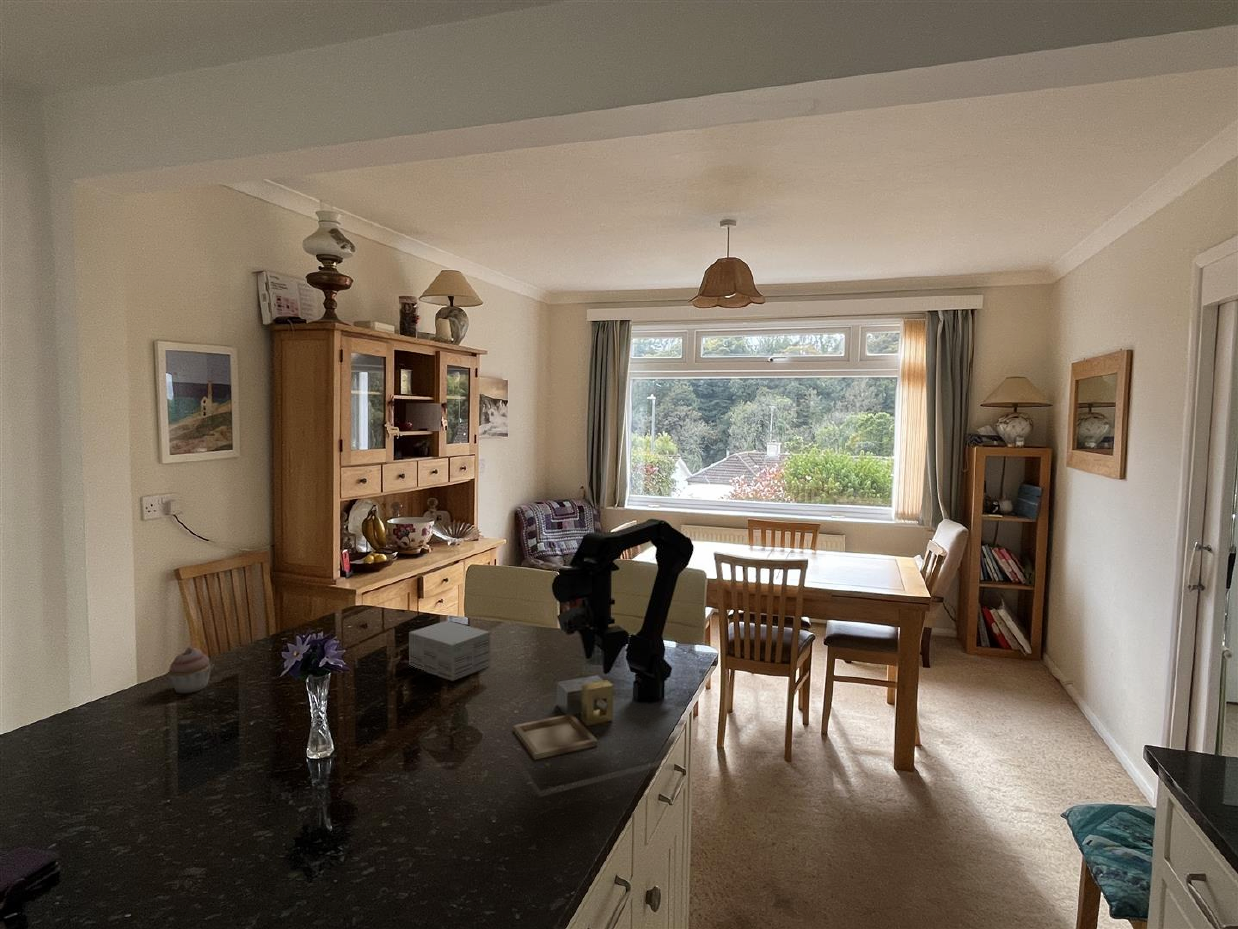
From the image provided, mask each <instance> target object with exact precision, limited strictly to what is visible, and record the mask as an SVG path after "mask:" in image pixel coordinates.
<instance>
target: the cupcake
mask: <svg viewBox="0 0 1238 929" xmlns="http://www.w3.org/2000/svg"><path fill="white" fill-rule="evenodd" d="M214 665H215V664H214V663H211V662H210V659H209V657H208V655H206V654H205V653H203V652H202V651H201V649H198V648H195V647H190V646H188V647H187V648H186V649H185V651H183V653H182V652H181V653H180V654H177V656H176V657H175V658H174V659H173V662H171V664H170V666H169V669H168V671H167V672H166V675H167V676H168V677H169V678H170V679H171V682H172V686H173V688H174V690H175V692H176V693H177V694H178V693H179V694H190V693H191V694H192V693H196V692H199V691H202V690H204V689H205V688H206V687H207V686H208V684H209V683H208V682H209V680H210V675H211V672H212V671H213V667H214Z"/></svg>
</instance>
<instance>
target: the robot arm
mask: <svg viewBox="0 0 1238 929" xmlns="http://www.w3.org/2000/svg"><path fill="white" fill-rule="evenodd" d="M649 542H650V543H651V544H652V546H654V547H655V548H656V549H655V555H654V557H655V561H656V566H657V571H656V575H655V579H654V583H653V586H652V588H651V589H652V590H651V594H650V597H649V601H648V603H647V604H648V605H647V608H646V611H645V615H644V618H643V623H642V626H641V628H640V630H639V631H638V632H637V633H636V634H633V633H632V634H630V633H629V632H628V631H627V630H625V629H624V628H622V627H621V626H619V625H614V624H615V623H616V622H615V620H616V619H615V618H614V617H612V606H613V605H616V599H615V598H613V597H612V580H613V579H612V577H613V576H612V575H613V572H616V571H619V570H620V567H619V566H618V565H617V564H616V563H615V562H614V561H616V560H618V559H619V558H620V557H621V556H622V554H623V553H624V552H625V551H627V550H631V549H633V548H636V547H638V546H640V545H644V544H647V543H649ZM694 550H695V548H694V544H693V542H692V540H691V538H690V537H688V536H686V535H685V534H684V533H682V532H680V531H679V530H678V529H676V528H674V527H673V526H672V525H671V524H670V523H668V522H667V521H666V520H664V519H657V518H649V519H646V521H643V522H640V523H637V524H634V525H631V526H628V527H625V528H622V529H619V530H616V531H610V532H608V531H607V532H606V531H597V532H588V533H585V535H583V536H582V540H581V542H580V543H579V546H578V547H577V549H576V550H575V552H574V555H573V557H572V558H571V561H570V562H569V567H561V568H559V569H558V574H557V575H556V576H554V578H553V580H552V582H551V591H552V594H553V597H554V599H555V600H556V601H557V602H559V603H561V604H565V603H568V602H574V601H577V600H579V604H578V605H576V606H573V607H571V608H569V609H567V610H565V611H563V612H561V613H559V614H558V615H557V616H556V619H557V620H558V624H559V626H560V629H561V631H563V632H564V633H565V634H566V635H568V636H571V635H574V634H575V633H576V632H577V633H578V635H579V638H580V642H581V646H582V649H583V653H584V657H585V659H586V660H589V659H591V658H592V656H593V653H594V650H595V646H596V647H597V648H598V649H599V651H600V657H601V665H602V671H603V672H602V673H603V674H604V675H607V674H610V672H611V670H612V668H613V666H614V664H615V662H616V660H617V658H618V657H619V654H620V653H621V651H622V650H623V648H624V647H626V646H627V647H626V648H625V649H624V652H626V653H625V660H626V662H627V666H628V668H629V671H630V672H631V673H634V680H633V682H632V699H633V700H635V701H636V702H637V703H648V704H653V703H658V702H660V701H661V700H662V699H665V693H666V692H665V687H666V686H665V684H666V683H665V682H666V681H667V680H668V678H671V674H672V672H673V671H672V670H673V667H672V666H671V665H670V663H669V662H668V661H667V660H666V659H665V653H666V646H665V641H664V638H663V634H664V629H665V626H666V622H667V619H668V616H669V613H670V612H669V611H670V608H671V604H672V600H673V597H674V593H675V590H676V586H677V583H678V578H679V577H680V576H679V575H680V574H681V573H682V572H683V571H684V570H685V569H686V568H687V567H688V565H689V564H690V561H691V558H692V556H693V553H694ZM610 625H612V626H610Z"/></svg>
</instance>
